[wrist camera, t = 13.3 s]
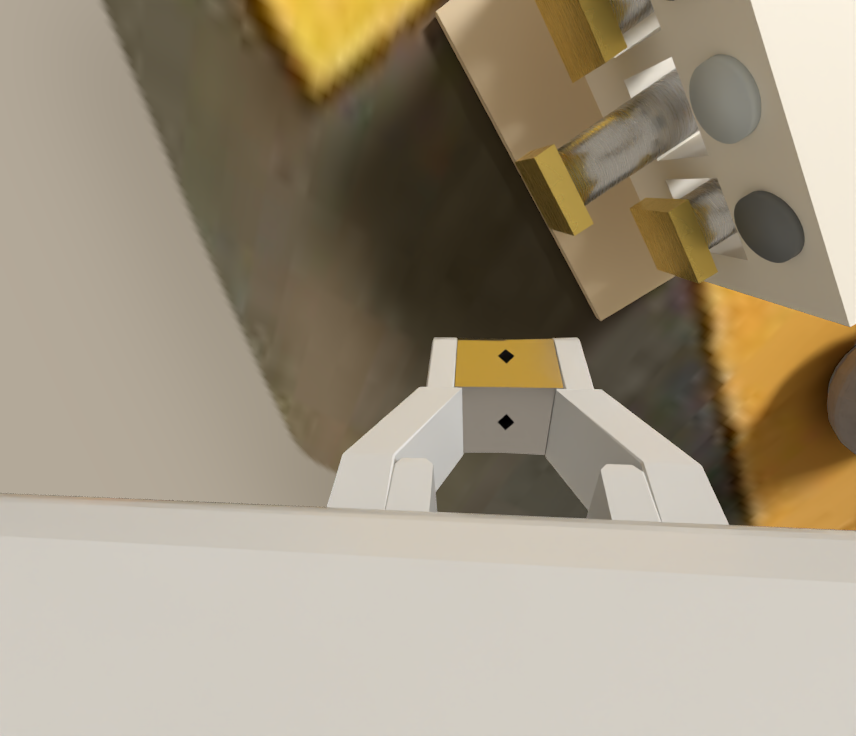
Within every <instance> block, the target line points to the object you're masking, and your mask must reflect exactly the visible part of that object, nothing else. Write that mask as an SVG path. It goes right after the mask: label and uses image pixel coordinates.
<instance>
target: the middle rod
mask: <svg viewBox="0 0 856 736" xmlns="http://www.w3.org/2000/svg"><path fill="white" fill-rule="evenodd" d="M698 131H699V129H698V126H697V123H696V121H695V118H694V115H693V113H692V110H691V107H690V105H689V102H688V99H687V97H686V94H685V91H684V89H683V86H682V83H681V81H680V78H679V75H678V73H677V70H676V68H674V69H673V70H671V71H670V72H669V73H667V74H666V75H664V76H663V77H661V78H660V79H658V80H657V81H655V82H654V83H653V84H651V85H650V86H648V87H647V88H645V89H644V90H642V91H641V92H640V93H638V94H637V95H635V96H634V97H632V98H631V99H629V100H628V101H627V102H625V103H624V104H622V105H621V106H619V107H618V108H616V109H615V110H614V111H612V112H611V113H609V114H608V115H606V116H605V117H603V118H602V119H601V120H599V121H598V122H596V123H595V124H593V125H592V126H590V127H589V128H588V129H586V130H585V131H583V132H582V133H580V134H579V135H577V136H576V137H574V138H573V139H572V140H570V141H569V142H567V143H566V144H564V145H563V146H561V147H560V148H559V149H557V148H556V146H555V144H552V145H549V146H545V147H542V148H538V149H535V150H531V151H530V152H528V153H527V154H525V155H524V156H522V157H521V158H520V159H518V160H517V161H515V162H514V163H515V165H516V167H517V169H518V170H519V172H520V174H521V176H522V178H523V180H524V182H525V184H526V185H527V187H528V189H529V191H530V193H531V195H532V197H533V199H534V200H535V202H536V204H537V206H538V208H539V210H540V212H541V214H542V215H543V217H544V219H545V221H546V223H547V225H548V227H549V229H552V230H556V231H559V232H562V233H566V234H569V235H573V236H576V235H577V234H579V233H580V232H582V231H583V230H585V229H586V228H588V227H589V226H591V225H592V224H594V223H593V221H592V219H591V217H590V215H589V213H588V211H587V209H586V207H585V206H586V205H587V204H589V203H590V202H592V201H593V200H595V199H596V198H598V197H599V196H601V195H602V194H604V193H605V192H607V191H608V190H610V189H611V188H613V187H614V186H616V185H617V184H619V183H620V182H622V181H623V180H625V179H626V178H628V177H629V176H631V175H633V174H634V173H636V172H637V171H639V170H640V169H642V168H643V167H645V166H646V165H648V164H649V163H651V162H652V161H654V160H655V159H657V158H658V157H660V156H661V155H663V154H664V153H666V152H667V151H669V150H670V149H672V148H673V147H675V146H676V145H678V144H680V143H681V142H683V141H684V140H686V139H687V138H689V137H690V136H692V135H693V134H695V133H696V132H698Z"/></svg>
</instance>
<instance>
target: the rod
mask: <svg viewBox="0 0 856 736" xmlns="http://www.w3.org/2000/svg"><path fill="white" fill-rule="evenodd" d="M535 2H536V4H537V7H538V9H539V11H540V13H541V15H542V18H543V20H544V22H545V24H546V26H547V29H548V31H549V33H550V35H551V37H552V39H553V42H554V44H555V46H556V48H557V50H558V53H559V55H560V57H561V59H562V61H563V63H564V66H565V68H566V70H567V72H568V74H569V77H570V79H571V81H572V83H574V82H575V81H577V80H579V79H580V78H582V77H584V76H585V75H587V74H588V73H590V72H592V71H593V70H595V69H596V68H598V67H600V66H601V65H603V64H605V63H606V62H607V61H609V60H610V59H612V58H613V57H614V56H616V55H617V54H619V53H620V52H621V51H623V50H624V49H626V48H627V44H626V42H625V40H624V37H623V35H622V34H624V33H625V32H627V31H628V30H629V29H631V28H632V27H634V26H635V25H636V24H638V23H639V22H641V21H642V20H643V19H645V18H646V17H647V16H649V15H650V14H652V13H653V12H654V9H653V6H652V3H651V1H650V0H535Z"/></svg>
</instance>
